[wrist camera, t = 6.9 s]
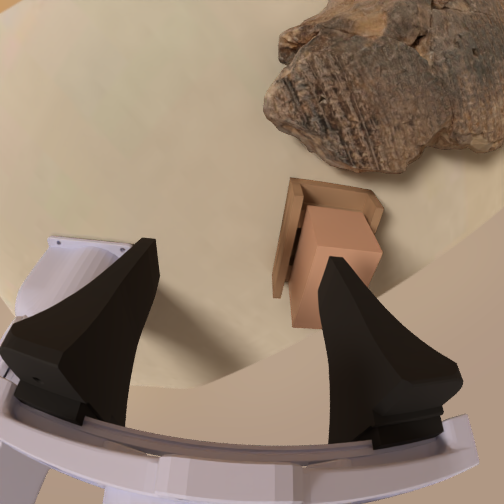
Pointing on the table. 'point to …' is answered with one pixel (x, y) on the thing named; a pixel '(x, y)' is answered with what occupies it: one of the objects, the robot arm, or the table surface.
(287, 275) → the rack
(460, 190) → the table surface
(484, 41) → the rough brown rock
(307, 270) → the clay bar
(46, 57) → the table surface
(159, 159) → the table surface
